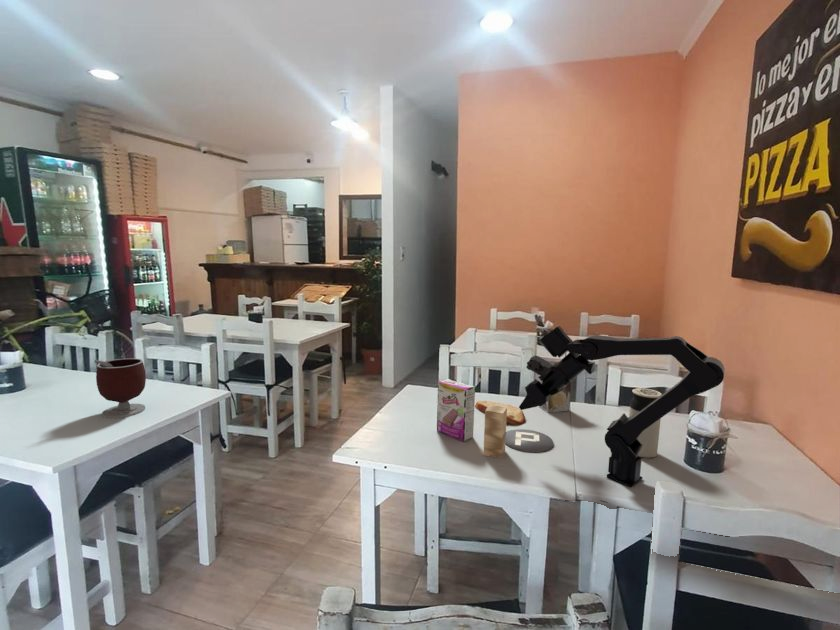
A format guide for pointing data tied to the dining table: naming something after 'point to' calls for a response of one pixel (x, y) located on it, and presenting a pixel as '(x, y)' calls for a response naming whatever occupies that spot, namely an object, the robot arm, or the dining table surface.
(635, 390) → the travel mug
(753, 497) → the dining table surface
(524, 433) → the letter board
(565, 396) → the coffee box
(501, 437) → the oak block
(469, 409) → the candy bar box
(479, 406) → the slice of bread
